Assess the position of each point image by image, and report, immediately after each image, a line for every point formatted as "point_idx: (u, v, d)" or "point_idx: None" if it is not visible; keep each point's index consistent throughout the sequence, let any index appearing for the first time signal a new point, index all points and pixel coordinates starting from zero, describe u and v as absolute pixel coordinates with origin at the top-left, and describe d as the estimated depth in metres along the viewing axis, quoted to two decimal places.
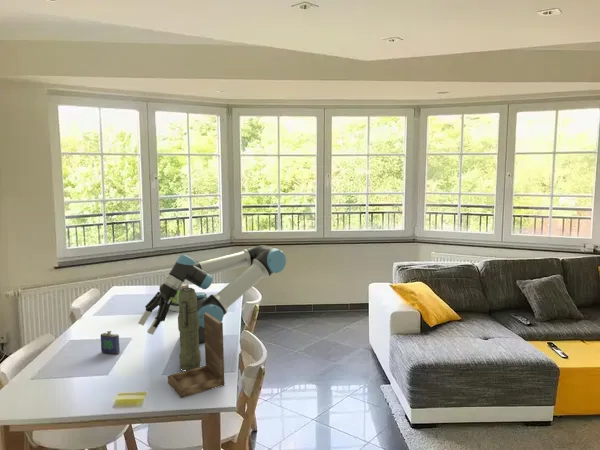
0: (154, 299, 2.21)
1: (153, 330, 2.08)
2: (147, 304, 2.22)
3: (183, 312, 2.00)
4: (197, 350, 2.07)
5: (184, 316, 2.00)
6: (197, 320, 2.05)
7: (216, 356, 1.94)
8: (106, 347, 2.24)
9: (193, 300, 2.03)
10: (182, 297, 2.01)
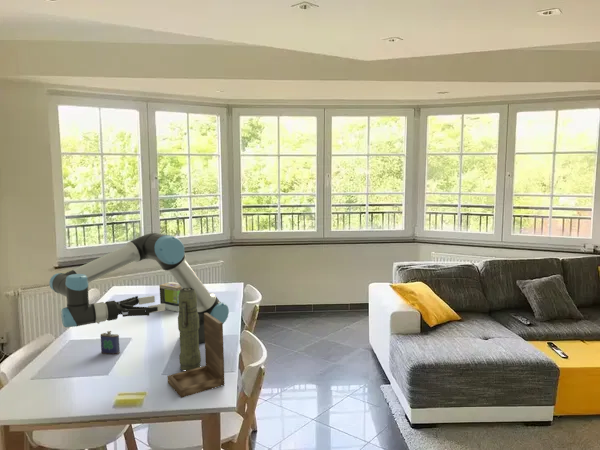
0: None
1: (160, 306, 1.94)
2: None
3: (183, 312, 2.00)
4: (197, 350, 2.07)
5: (184, 316, 2.00)
6: (197, 320, 2.05)
7: (216, 356, 1.94)
8: (106, 347, 2.24)
9: (193, 300, 2.03)
10: (182, 297, 2.01)
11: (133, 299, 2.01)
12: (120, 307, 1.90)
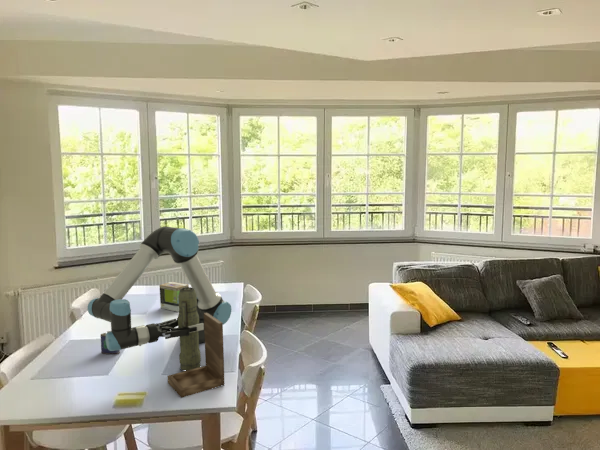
0: None
1: (199, 326, 2.04)
2: None
3: (183, 312, 2.00)
4: (197, 350, 2.07)
5: (184, 316, 2.00)
6: (197, 320, 2.05)
7: (216, 356, 1.94)
8: (106, 347, 2.24)
9: (193, 300, 2.03)
10: (181, 297, 2.02)
11: (174, 321, 2.08)
12: (160, 330, 1.98)
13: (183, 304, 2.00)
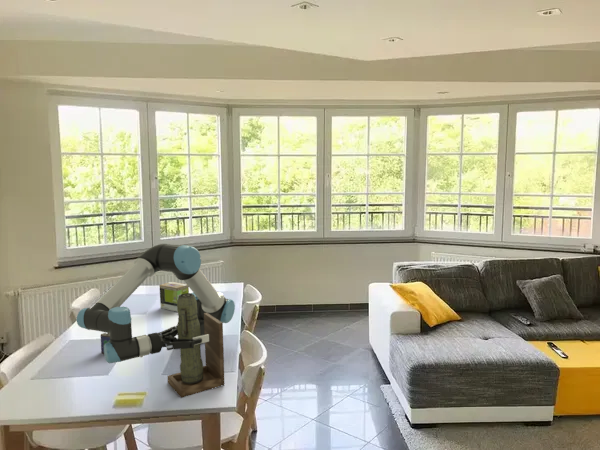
0: None
1: (204, 337, 1.86)
2: None
3: (182, 320, 1.85)
4: (199, 360, 1.92)
5: (183, 324, 1.85)
6: (198, 328, 1.90)
7: (216, 356, 1.94)
8: None
9: (192, 307, 1.88)
10: (180, 304, 1.87)
11: (174, 329, 1.93)
12: (163, 339, 1.83)
13: (182, 312, 1.85)
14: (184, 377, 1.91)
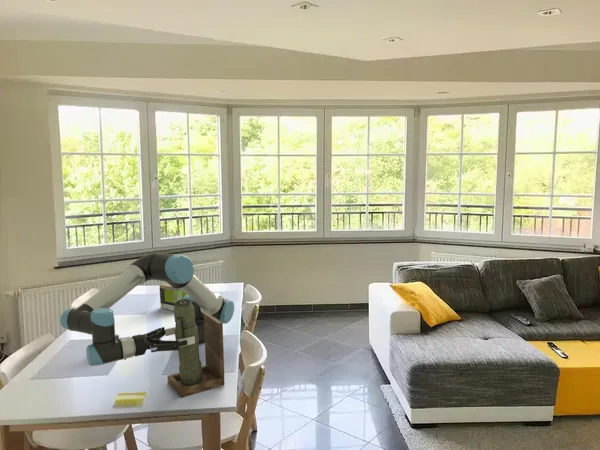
0: None
1: (190, 339, 1.82)
2: None
3: (178, 329, 1.80)
4: (197, 364, 1.90)
5: (180, 333, 1.81)
6: (195, 335, 1.85)
7: (216, 356, 1.94)
8: None
9: (189, 315, 1.81)
10: (176, 312, 1.81)
11: (160, 331, 1.90)
12: (148, 341, 1.79)
13: (178, 321, 1.79)
14: (183, 379, 1.91)
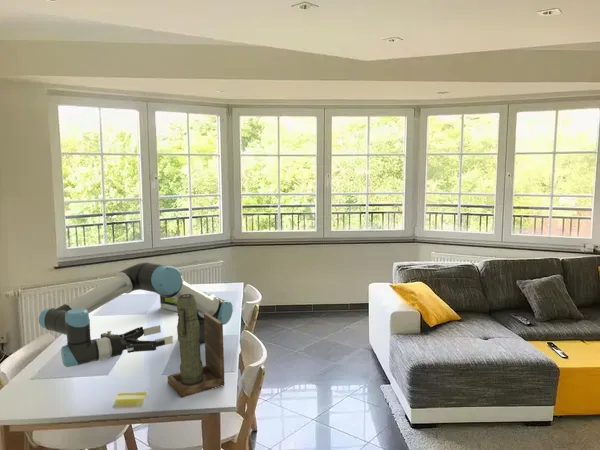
0: None
1: (168, 339, 1.80)
2: None
3: (180, 320, 1.86)
4: (198, 362, 1.92)
5: (182, 324, 1.86)
6: (197, 329, 1.91)
7: (216, 356, 1.94)
8: None
9: (191, 308, 1.89)
10: (179, 304, 1.88)
11: (138, 330, 1.88)
12: (124, 342, 1.77)
13: (180, 312, 1.86)
14: (183, 378, 1.91)
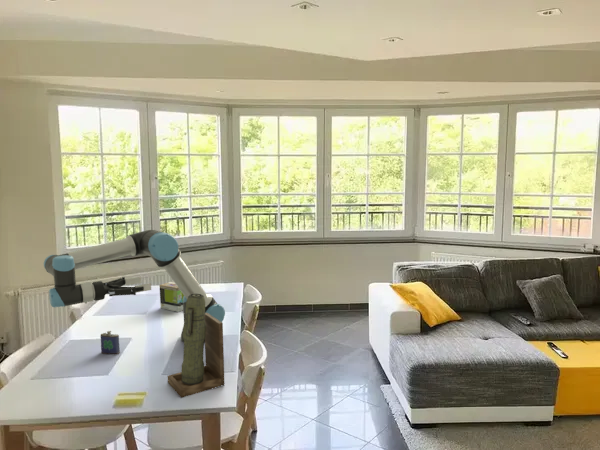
0: None
1: (146, 286, 1.98)
2: None
3: (188, 319, 1.86)
4: (200, 362, 1.92)
5: (189, 323, 1.87)
6: (203, 329, 1.91)
7: (216, 356, 1.94)
8: (106, 347, 2.24)
9: (200, 308, 1.89)
10: (189, 303, 1.88)
11: (120, 280, 2.06)
12: (107, 287, 1.95)
13: (189, 311, 1.87)
14: (184, 377, 1.91)
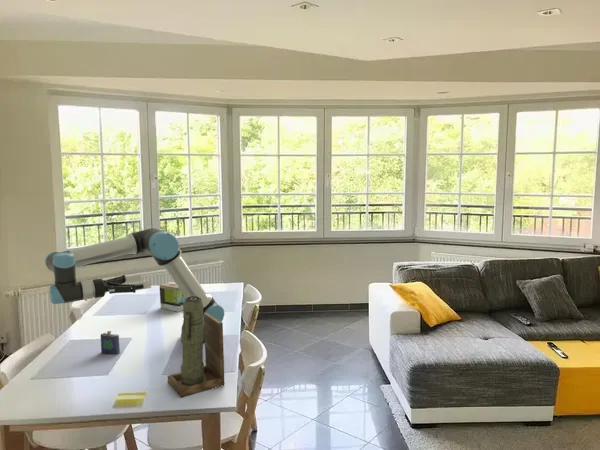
0: None
1: (146, 284, 1.99)
2: None
3: (186, 324, 1.83)
4: (200, 364, 1.91)
5: (187, 328, 1.83)
6: (201, 333, 1.88)
7: (216, 356, 1.94)
8: (106, 347, 2.24)
9: (198, 312, 1.85)
10: (186, 307, 1.84)
11: (120, 278, 2.07)
12: (107, 285, 1.96)
13: (186, 316, 1.83)
14: (183, 378, 1.91)
